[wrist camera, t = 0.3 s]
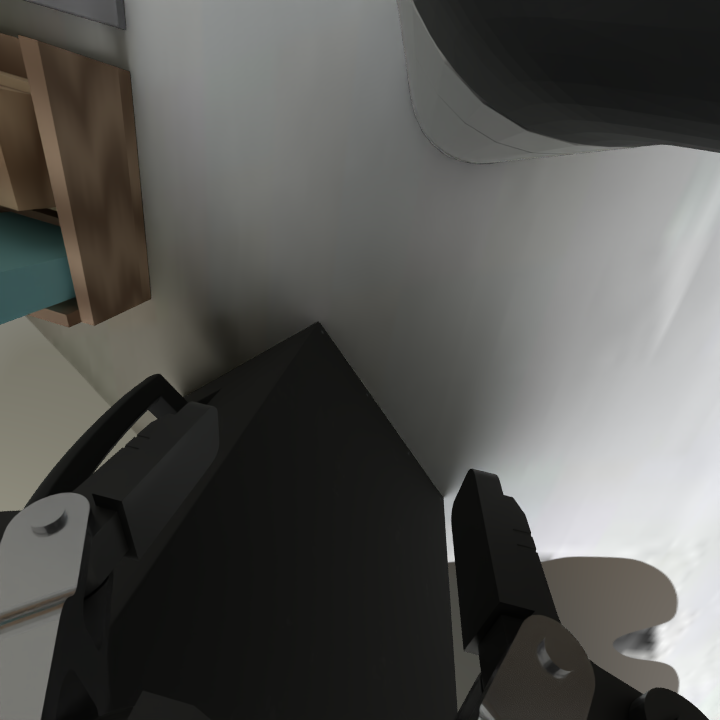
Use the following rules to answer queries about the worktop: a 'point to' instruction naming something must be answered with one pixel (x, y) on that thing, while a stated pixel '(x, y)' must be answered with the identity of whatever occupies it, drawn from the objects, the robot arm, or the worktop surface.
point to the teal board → (31, 266)
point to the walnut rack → (87, 176)
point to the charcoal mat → (90, 10)
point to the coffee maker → (284, 554)
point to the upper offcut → (22, 154)
